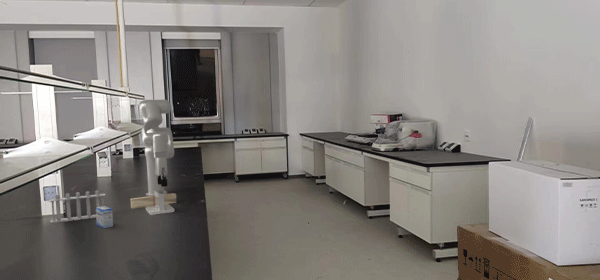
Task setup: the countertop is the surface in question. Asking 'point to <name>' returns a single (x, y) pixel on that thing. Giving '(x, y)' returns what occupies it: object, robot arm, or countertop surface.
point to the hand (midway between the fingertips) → (162, 185)
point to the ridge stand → (159, 205)
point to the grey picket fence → (77, 207)
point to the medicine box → (104, 217)
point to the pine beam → (151, 201)
